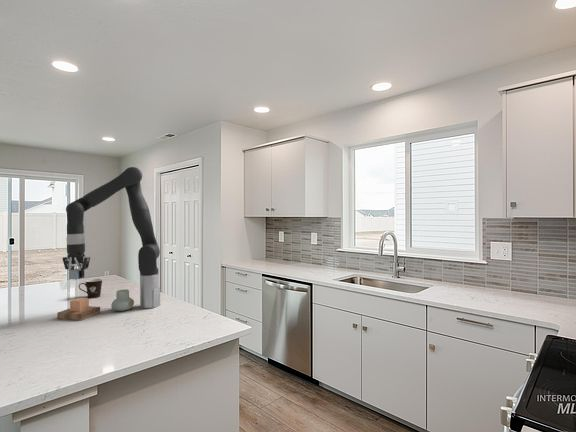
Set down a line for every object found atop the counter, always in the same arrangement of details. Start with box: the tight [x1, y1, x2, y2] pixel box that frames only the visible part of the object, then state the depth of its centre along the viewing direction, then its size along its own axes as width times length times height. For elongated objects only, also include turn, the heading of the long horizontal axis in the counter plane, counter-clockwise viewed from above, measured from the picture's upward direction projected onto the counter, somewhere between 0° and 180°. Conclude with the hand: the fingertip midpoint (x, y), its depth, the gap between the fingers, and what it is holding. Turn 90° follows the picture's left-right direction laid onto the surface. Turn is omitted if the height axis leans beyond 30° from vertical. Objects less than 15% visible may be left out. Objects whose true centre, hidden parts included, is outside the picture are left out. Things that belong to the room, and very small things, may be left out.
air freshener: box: [110, 288, 135, 312], centre depth 171 cm, size 11×8×10 cm
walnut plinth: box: [56, 305, 101, 321], centre depth 160 cm, size 13×12×3 cm
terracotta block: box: [69, 297, 90, 312], centre depth 160 cm, size 6×6×5 cm
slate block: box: [68, 268, 85, 281], centre depth 160 cm, size 4×4×4 cm
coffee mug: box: [78, 278, 103, 299], centre depth 197 cm, size 12×9×10 cm
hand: (76, 277), depth 160 cm, fingers closed on slate block, 4 cm apart
